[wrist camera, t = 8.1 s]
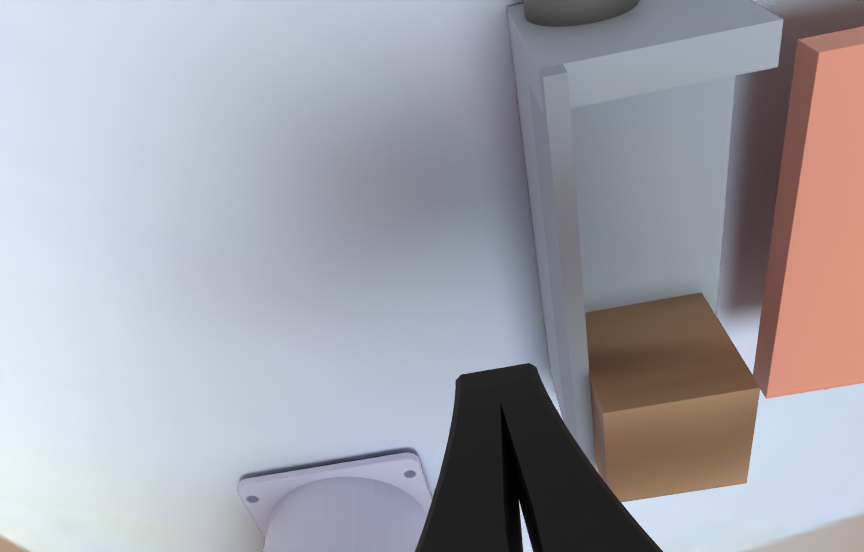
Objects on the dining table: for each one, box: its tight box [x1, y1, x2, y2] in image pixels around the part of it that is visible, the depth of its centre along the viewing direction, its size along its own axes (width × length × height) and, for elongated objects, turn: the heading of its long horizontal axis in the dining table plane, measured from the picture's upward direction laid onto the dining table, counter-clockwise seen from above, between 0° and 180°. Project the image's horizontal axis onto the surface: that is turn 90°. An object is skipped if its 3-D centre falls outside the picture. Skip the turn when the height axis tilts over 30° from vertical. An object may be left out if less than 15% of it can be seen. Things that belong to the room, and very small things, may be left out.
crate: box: [585, 292, 760, 502], centre depth 20 cm, size 4×4×4 cm
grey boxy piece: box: [506, 0, 784, 473], centre depth 20 cm, size 16×5×6 cm, turn 11°
